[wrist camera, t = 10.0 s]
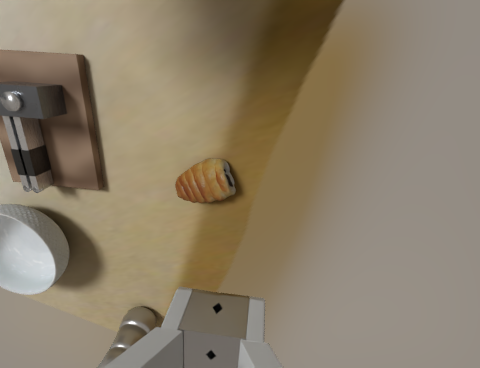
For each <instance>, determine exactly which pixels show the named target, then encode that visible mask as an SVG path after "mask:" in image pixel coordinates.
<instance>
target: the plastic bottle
mask: <svg viewBox="0 0 480 368" xmlns="http://www.w3.org/2000/svg"><path fill="white" fill-rule="evenodd" d="M155 326H156V317H155V315H154V313H153V312H152V311H151V310H149V309H147V308H144V307H135V308H133V309H131V310H129V311H128V312H127V314H126V315H125V316H124V318H123V320H122V322H121V325H120V328H119V331H118V333H117V336H116V338H115V340H114V342H113V344H112V346H111V347H110V349H109V351H108V352H107V354H106V356H105V357H104V359H103V360H102V362H101V363H100V364H99V366H98V367H97V368H104V367H105V366H106V365H108V364H109V363H110V362H112V361H113V360H114V359H115V358H117V357H118V356H119V355H121V354H122V353H123V352H124V351H126V350H127V349H128V348H130V347H131V346H132V345H134V344H135V343H136V342H137V341H139V340H140V339H141V338H143V337H144V336H145V335H146V334H148V333H149V332H150V331H152V330H153V329H154V328H155Z"/></svg>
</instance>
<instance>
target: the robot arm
mask: <svg viewBox="0 0 480 368" xmlns="http://www.w3.org/2000/svg"><path fill="white" fill-rule="evenodd" d="M264 323H265V300H264V298H258V297H250V298H249V296H242V295H235V294H227V293H217V292H211V291H205V290H199V289H191V288H185V287H179V288H178V289H177V290H176V293H175V295H174V297H173V300H172V302H171V304H170V307H169V309H168V312H167V314H166V316H165V319H164V321H163V323H162V326H161V327H156V328H154V329H153V330H152V331H150V332H149V333H148V334H146V335H145V336H144V337H143V338H141V339H140V340H139V341H137V342H136V343H135V344H134V345H132V346H131V347H130V348H128V349H127V350H126V351H124V352H123V353H122V354H121V355H119V356H118V357H117V358H115V359H114V360H113V361H112V362H110V363H109V364H108V365H106V366H105V367H104V368H283V366H282V365H281V363H280V361H279V360H278V358H277V356H276V355H275V353H274V351H273V350H272V348H271V346H270V345H269V343H264V326H265V324H264Z"/></svg>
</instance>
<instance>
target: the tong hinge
mask: <svg viewBox="0 0 480 368" xmlns="http://www.w3.org/2000/svg"><path fill="white" fill-rule="evenodd" d="M64 114H67V110H66V104H65V99H64V94H63V89H62V85H58V84H44V83H30V82H16V81H10V82H0V116H12V117H24V118H36V119H46V118H51V117H55V116H60V115H64Z"/></svg>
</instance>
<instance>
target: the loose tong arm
mask: <svg viewBox="0 0 480 368" xmlns="http://www.w3.org/2000/svg"><path fill="white" fill-rule="evenodd" d="M13 119H14V123H15V127H16V130H17V134H18V137H19V141H20V145H21V148H22V150H21V153H22V156H23V160H24V164H25V167H26V171H27V174H28V176H29V177H30V181H31V184H32V188H33V191H34V192H36V193H38V192H40V191H42V190H44V189H46V188H48V187H50V186H51V185H53V184H54V182H53V178H52V174H51V165H50V161H49V157H48V153H47V149H46V145H44V141H43V137H42V132H41V128H40V124H39V120H38V119H36V118H24V117H13Z"/></svg>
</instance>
